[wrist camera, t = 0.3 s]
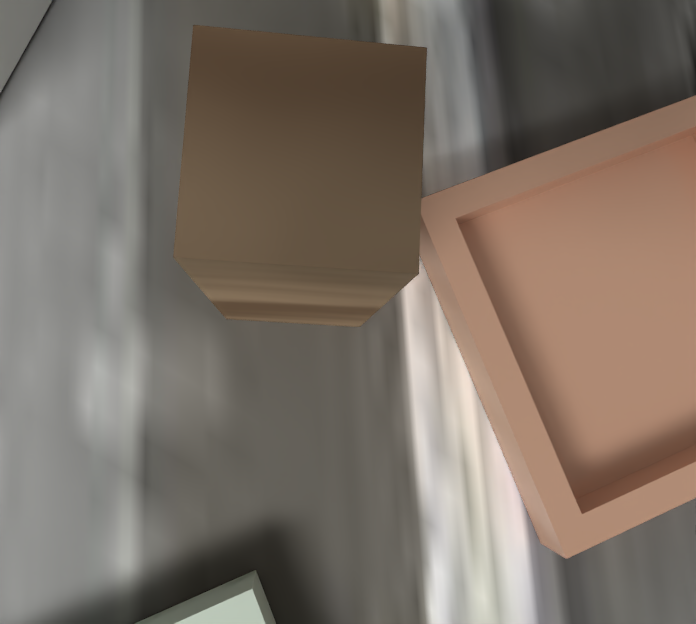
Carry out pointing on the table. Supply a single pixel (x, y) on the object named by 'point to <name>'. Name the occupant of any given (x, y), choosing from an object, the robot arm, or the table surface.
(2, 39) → the medicine bottle
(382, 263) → the walnut block
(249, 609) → the pale green dish
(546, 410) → the terracotta dish
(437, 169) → the table surface
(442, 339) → the table surface
